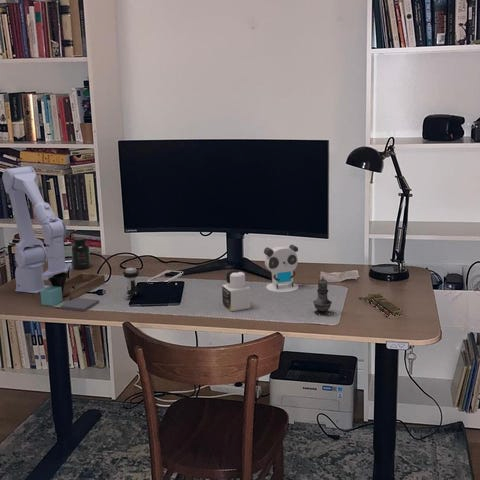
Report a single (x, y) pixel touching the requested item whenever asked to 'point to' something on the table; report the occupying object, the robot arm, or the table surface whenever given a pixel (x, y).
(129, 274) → the push button
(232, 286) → the medicine bottle
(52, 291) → the block
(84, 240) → the supplement bottle
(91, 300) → the pad
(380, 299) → the olive brown jagged slab
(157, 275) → the phone case
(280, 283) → the panda figurine
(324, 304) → the dark grey chess piece
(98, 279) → the channel
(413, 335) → the table surface
